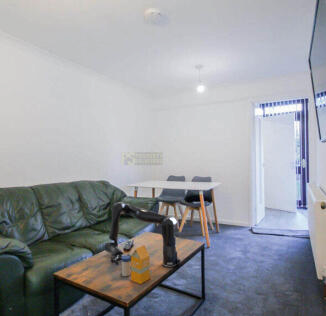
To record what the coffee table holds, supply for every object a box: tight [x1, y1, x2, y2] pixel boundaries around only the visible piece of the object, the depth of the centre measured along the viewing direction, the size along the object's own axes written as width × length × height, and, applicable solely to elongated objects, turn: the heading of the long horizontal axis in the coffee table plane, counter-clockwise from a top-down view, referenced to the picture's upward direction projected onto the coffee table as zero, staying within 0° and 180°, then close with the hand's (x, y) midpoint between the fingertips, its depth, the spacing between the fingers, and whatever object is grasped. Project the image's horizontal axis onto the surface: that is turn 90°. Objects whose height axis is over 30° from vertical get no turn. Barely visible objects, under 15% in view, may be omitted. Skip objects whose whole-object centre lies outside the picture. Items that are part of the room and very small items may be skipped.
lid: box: [120, 255, 131, 262], centre depth 158 cm, size 6×6×2 cm
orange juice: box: [130, 244, 150, 285], centre depth 152 cm, size 8×9×20 cm
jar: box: [121, 261, 131, 277], centre depth 158 cm, size 5×5×11 cm
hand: (123, 262), depth 162 cm, fingers open, 8 cm apart
